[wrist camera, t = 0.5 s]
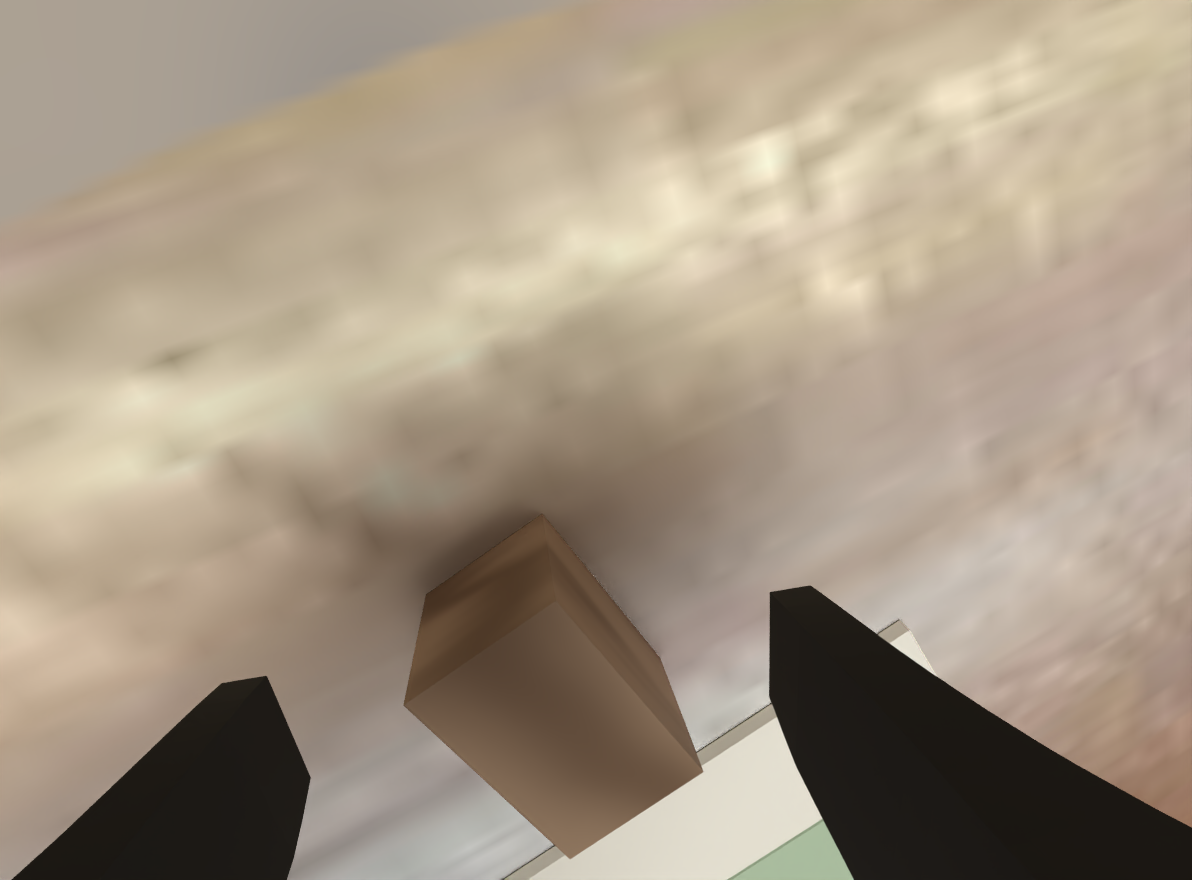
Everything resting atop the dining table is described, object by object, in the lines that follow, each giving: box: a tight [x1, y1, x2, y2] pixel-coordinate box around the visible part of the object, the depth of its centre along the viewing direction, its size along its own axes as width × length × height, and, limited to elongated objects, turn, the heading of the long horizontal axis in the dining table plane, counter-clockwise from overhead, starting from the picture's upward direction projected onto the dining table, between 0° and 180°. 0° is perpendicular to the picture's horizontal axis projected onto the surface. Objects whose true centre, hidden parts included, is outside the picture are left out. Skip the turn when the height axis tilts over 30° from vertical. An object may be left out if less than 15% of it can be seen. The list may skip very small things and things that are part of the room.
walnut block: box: [404, 514, 703, 859], centre depth 18 cm, size 4×7×5 cm, turn 35°
